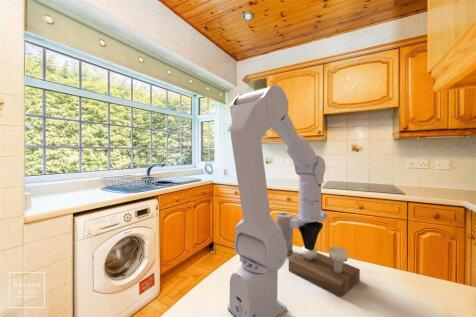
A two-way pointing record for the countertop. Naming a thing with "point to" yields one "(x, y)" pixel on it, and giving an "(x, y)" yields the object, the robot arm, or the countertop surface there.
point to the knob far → (309, 253)
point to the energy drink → (286, 229)
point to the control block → (325, 273)
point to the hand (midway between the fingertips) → (309, 248)
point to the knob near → (338, 258)
